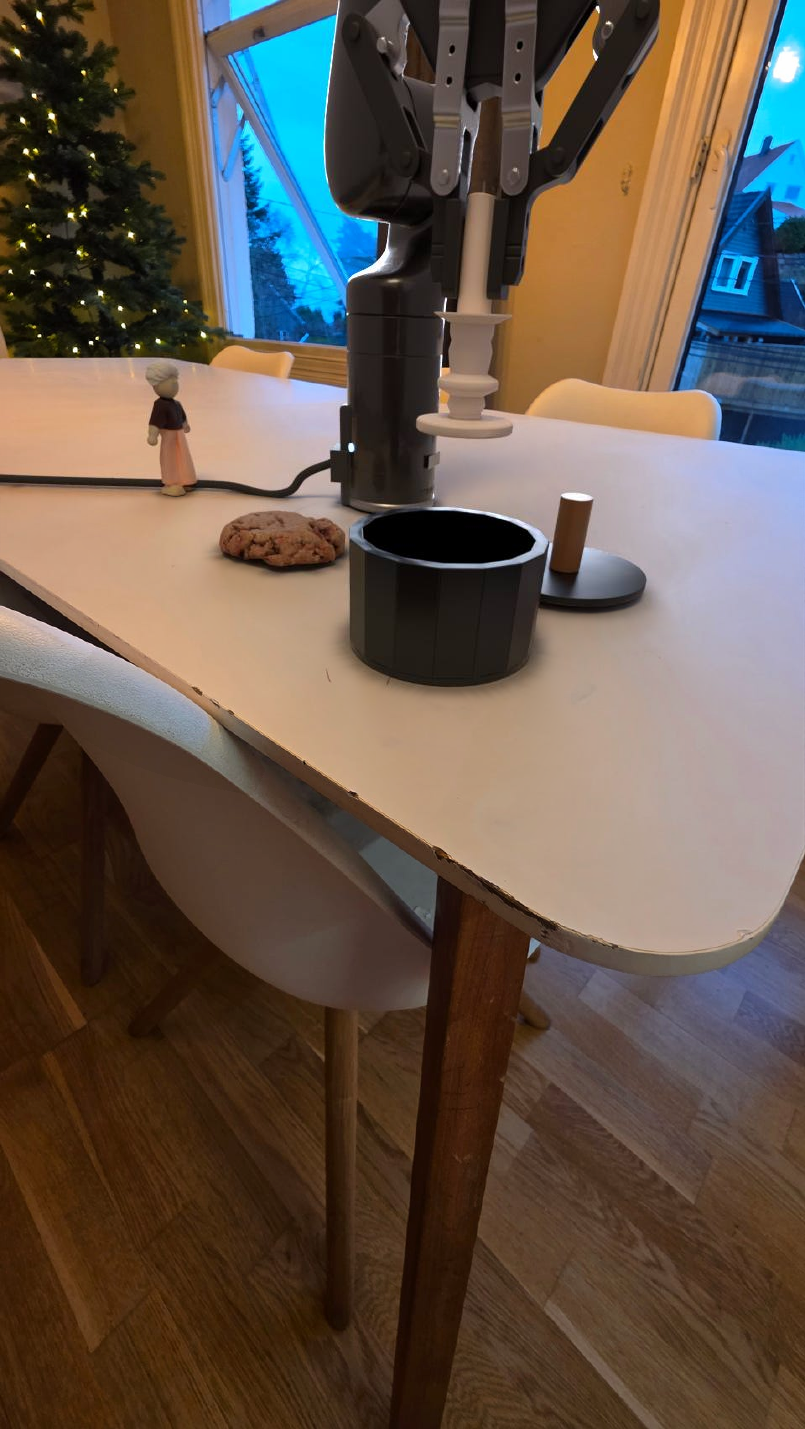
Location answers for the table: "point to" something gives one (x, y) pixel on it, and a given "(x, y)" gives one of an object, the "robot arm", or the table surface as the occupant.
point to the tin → (444, 593)
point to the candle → (470, 338)
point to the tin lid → (585, 563)
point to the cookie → (282, 538)
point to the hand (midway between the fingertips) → (474, 297)
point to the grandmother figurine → (170, 429)
